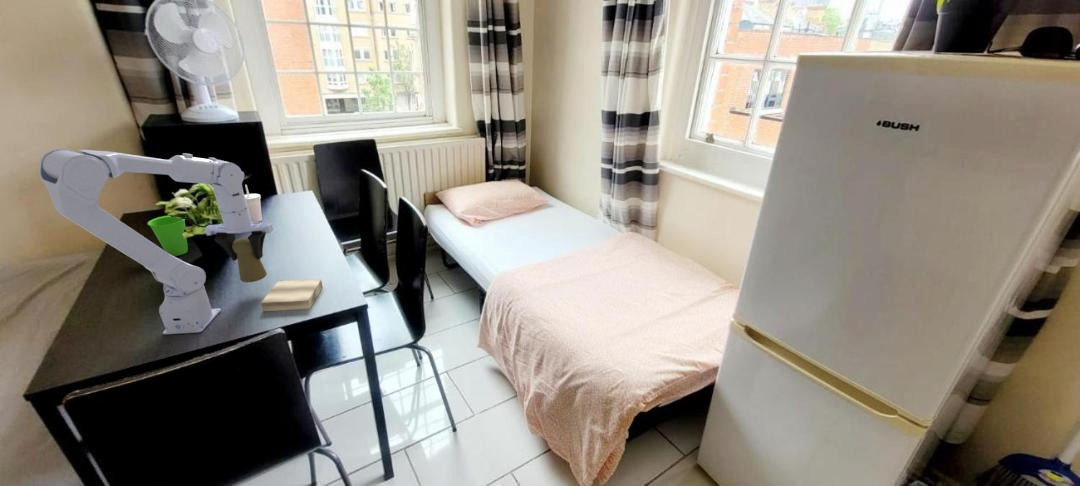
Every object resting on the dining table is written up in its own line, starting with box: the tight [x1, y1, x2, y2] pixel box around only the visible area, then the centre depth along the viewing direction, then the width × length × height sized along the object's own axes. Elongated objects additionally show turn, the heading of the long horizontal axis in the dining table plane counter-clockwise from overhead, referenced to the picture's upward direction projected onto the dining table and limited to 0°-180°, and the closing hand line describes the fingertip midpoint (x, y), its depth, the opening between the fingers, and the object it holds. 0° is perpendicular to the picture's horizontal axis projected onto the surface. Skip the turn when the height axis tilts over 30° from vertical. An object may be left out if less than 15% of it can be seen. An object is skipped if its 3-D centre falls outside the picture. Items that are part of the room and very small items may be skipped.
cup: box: [147, 215, 189, 257], centre depth 133 cm, size 9×9×11 cm
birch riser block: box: [260, 278, 323, 312], centre depth 113 cm, size 11×11×2 cm
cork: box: [232, 236, 268, 283], centre depth 112 cm, size 6×6×11 cm
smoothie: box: [244, 184, 263, 223], centre depth 158 cm, size 6×6×14 cm
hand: (247, 258), depth 111 cm, fingers closed on cork, 5 cm apart
